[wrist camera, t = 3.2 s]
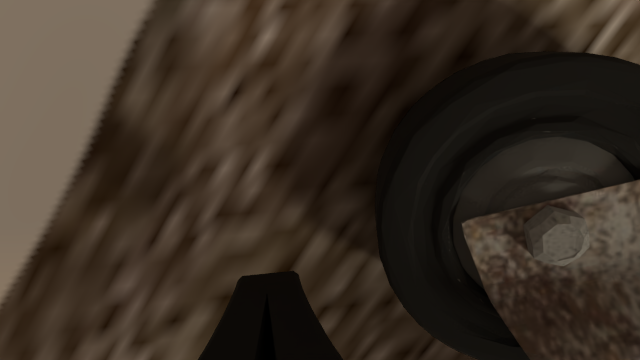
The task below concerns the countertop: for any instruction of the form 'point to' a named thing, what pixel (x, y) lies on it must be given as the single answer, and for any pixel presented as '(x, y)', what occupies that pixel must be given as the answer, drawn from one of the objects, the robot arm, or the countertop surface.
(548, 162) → the caster wheel
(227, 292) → the countertop surface
